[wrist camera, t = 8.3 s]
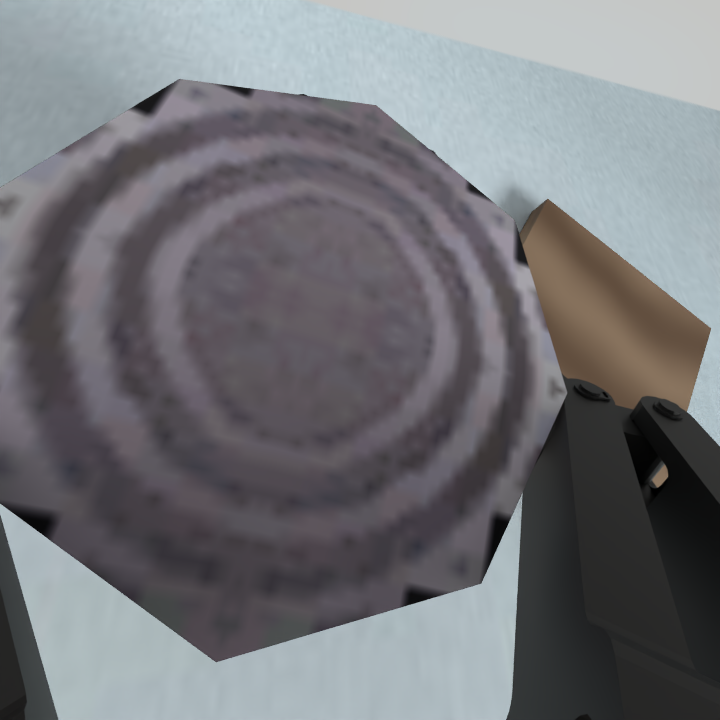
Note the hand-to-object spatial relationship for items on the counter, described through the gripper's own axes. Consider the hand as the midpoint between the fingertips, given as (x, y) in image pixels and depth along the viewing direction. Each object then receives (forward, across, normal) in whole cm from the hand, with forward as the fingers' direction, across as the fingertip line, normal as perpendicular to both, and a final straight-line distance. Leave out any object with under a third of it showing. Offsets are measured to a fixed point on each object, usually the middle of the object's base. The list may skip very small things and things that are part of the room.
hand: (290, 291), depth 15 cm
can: (+2, 0, -6) cm, 6 cm away
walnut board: (+4, +18, -5) cm, 19 cm away
